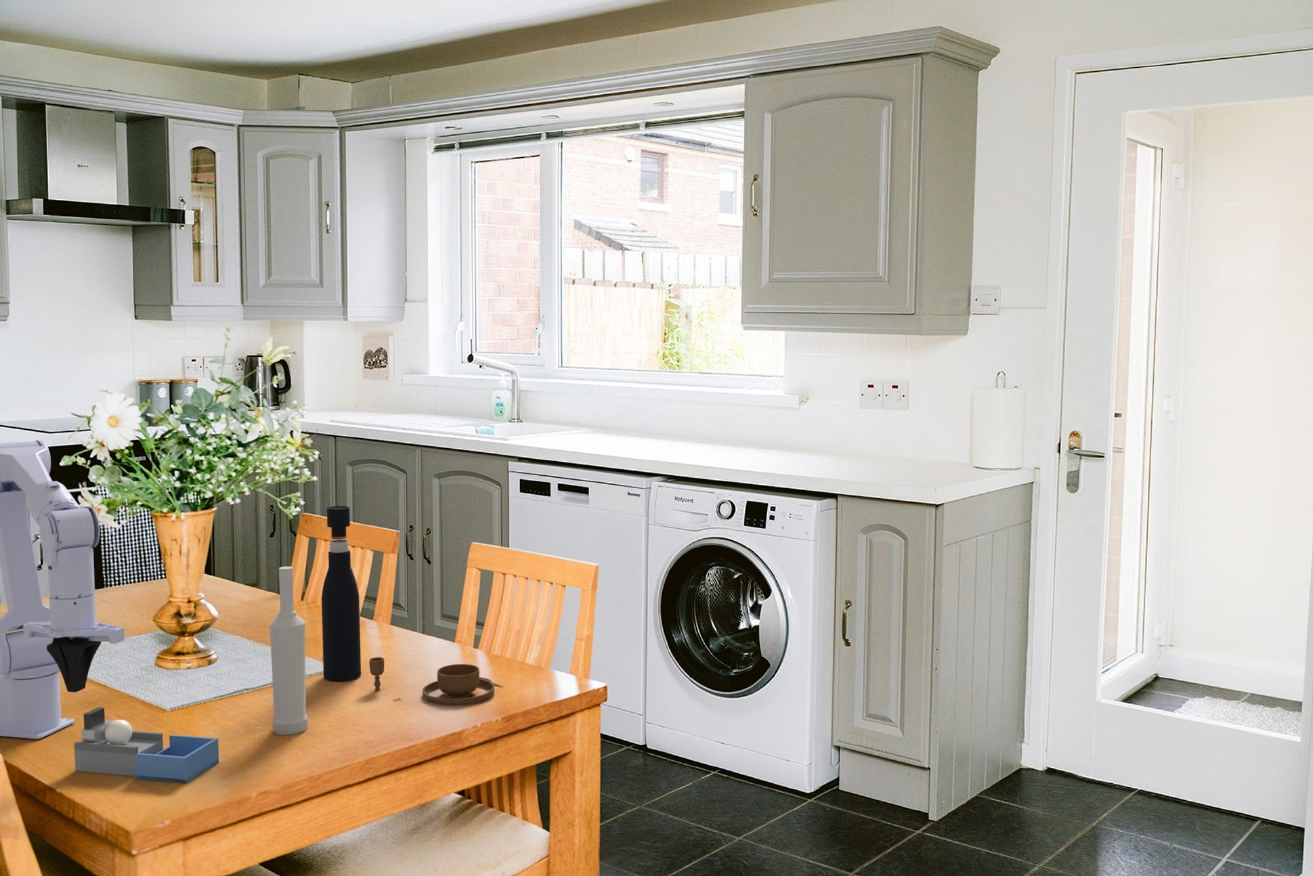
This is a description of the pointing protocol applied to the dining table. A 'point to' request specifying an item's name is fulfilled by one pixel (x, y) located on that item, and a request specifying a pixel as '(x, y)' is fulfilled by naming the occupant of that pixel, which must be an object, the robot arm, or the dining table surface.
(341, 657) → the wine bottle
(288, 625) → the bottle
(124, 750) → the open gray tray
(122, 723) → the ball
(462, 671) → the place setting
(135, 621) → the dining table surface
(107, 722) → the grey angular hollow piece
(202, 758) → the open box
